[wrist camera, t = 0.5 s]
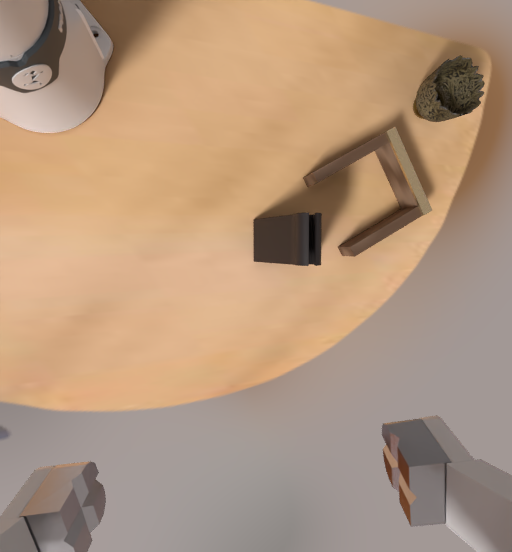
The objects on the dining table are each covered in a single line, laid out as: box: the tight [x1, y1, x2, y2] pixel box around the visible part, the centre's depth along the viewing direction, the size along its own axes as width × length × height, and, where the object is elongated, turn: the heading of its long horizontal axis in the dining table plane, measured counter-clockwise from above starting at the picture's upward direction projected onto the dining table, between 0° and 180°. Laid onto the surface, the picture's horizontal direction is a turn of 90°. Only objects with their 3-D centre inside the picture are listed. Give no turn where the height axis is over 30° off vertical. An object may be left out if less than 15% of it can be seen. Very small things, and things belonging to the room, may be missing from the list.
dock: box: [303, 127, 432, 256], centre depth 51 cm, size 13×14×4 cm
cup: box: [413, 56, 484, 122], centre depth 50 cm, size 8×7×8 cm
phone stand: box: [254, 213, 322, 266], centre depth 46 cm, size 9×6×12 cm, turn 90°
